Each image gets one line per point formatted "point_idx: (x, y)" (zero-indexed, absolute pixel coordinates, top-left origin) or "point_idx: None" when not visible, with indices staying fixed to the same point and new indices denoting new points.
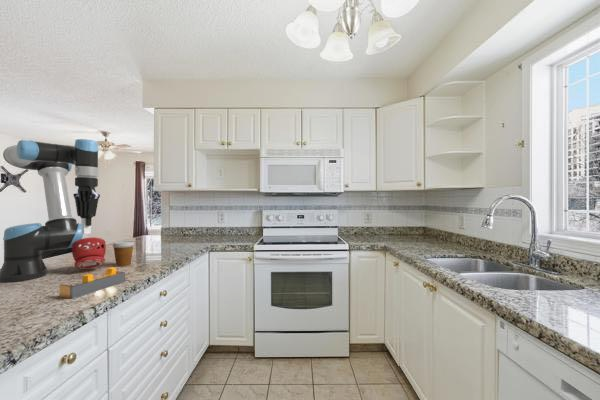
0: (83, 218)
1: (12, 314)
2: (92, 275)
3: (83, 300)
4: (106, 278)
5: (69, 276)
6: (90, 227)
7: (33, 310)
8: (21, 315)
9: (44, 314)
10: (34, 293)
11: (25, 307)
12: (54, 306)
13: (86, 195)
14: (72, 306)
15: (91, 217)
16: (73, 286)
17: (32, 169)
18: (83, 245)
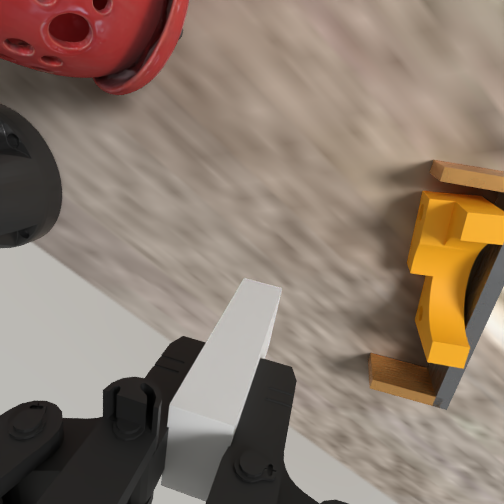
0: (203, 498)
1: (366, 469)
2: (468, 347)
3: (496, 394)
4: (500, 287)
5: (154, 134)
6: (268, 329)
7: (398, 452)
8: (398, 477)
9: (461, 478)
10: None
11: (350, 433)
12: (435, 433)
13: None
14: (500, 437)
15: (291, 486)
16: (443, 403)
17: None
18: (41, 35)
